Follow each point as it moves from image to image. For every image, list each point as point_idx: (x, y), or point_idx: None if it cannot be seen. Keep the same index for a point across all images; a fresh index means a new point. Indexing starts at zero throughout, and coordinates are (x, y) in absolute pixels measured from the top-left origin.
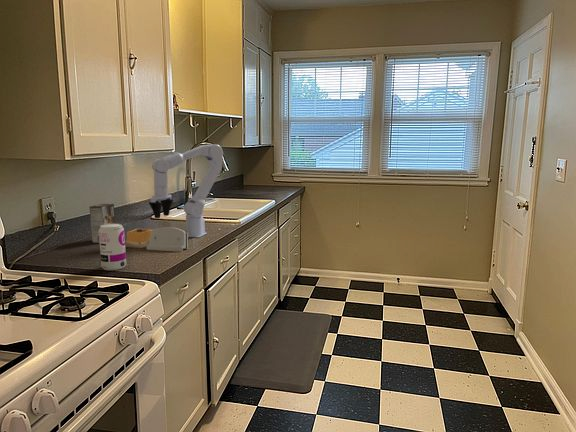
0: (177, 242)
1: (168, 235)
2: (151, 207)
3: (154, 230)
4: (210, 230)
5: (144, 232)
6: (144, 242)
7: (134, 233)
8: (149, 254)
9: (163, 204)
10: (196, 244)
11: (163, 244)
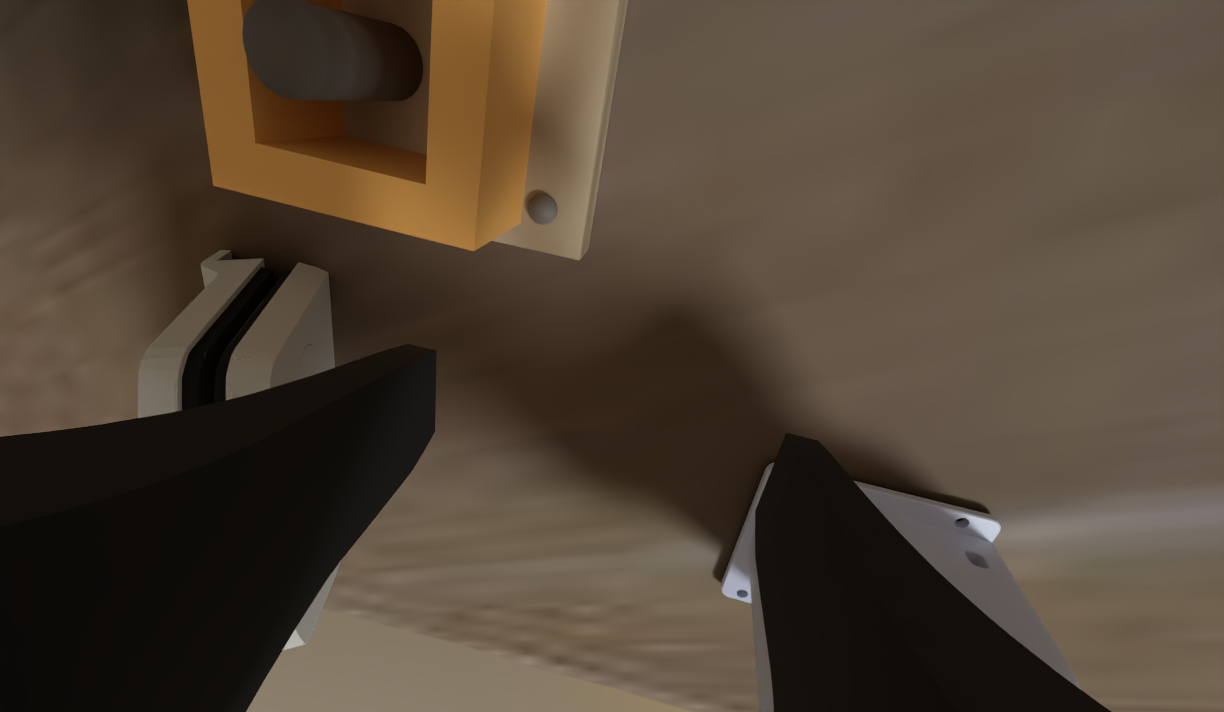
0: None
1: None
2: (104, 429)
3: (146, 388)
4: (1113, 658)
5: (246, 190)
6: None
7: (202, 18)
8: (108, 330)
9: (871, 694)
10: (480, 584)
11: None
